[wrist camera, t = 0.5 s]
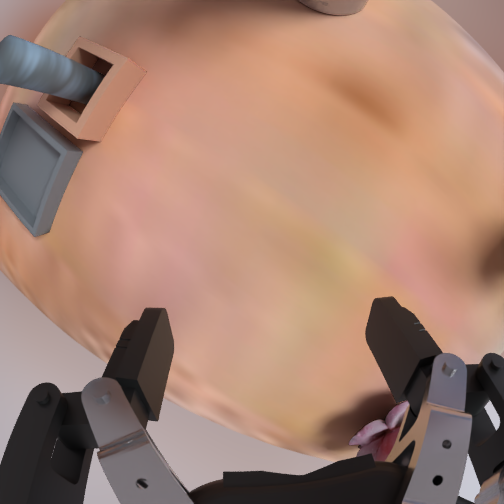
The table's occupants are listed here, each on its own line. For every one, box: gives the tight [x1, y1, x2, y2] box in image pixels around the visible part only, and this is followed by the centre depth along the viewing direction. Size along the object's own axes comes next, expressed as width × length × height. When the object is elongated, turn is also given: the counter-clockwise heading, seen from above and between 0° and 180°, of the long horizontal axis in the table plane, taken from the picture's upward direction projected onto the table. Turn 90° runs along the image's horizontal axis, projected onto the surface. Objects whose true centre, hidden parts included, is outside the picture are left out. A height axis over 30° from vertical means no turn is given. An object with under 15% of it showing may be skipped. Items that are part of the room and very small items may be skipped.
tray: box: [0, 102, 83, 237], centre depth 26 cm, size 12×16×3 cm
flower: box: [349, 401, 409, 461], centre depth 29 cm, size 15×15×10 cm
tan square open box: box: [37, 36, 147, 142], centre depth 22 cm, size 9×9×4 cm
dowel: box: [0, 35, 105, 105], centre depth 17 cm, size 4×4×16 cm
